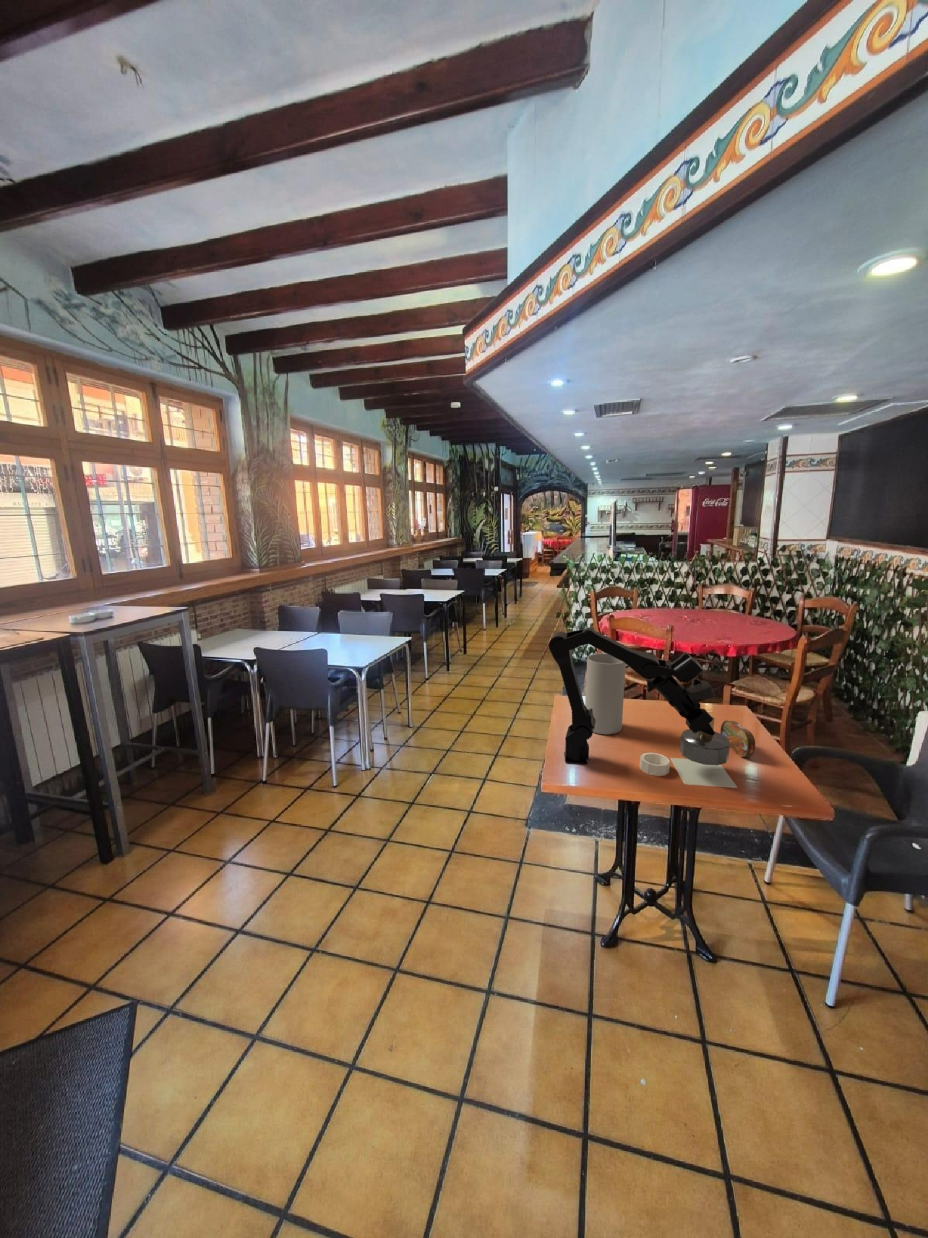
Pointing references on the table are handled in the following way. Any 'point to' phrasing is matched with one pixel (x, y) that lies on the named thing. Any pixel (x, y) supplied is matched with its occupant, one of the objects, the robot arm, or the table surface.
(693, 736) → the cloche
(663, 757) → the bowl
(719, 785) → the mat
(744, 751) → the tin
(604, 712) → the cylinder vase
